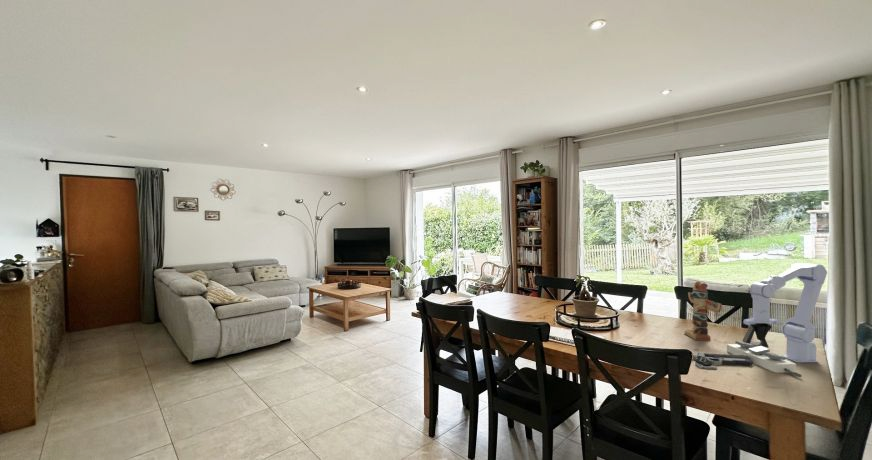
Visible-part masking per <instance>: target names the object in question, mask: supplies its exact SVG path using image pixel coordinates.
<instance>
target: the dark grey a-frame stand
mask: <svg viewBox="0 0 872 460" xmlns="http://www.w3.org/2000/svg"><path fill="white" fill-rule="evenodd" d="M754 334H755V331H754V329H753V327H752V326H751V324H749V327H748V328H747V331H746V332H745V334H744V337H743V339H742V342H745V343H749V344H751V345H754V346H755V347H758V346H763V347H765V348H769V344H768V342H767V340H766V339H765V340H764V341H761V340H759V342H758V341H752V340H753V339H752V338H753V337H754Z"/></svg>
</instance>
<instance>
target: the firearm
mask: <svg viewBox="0 0 872 460" xmlns="http://www.w3.org/2000/svg"><path fill="white" fill-rule="evenodd" d="M692 355H693V359H692V360H695V366H697V367H698V368H700V369H703V370H704V369H707V370H708V369H709V370H711V369H713V370H717V369H718V366H744V367H745V366H747V367H752V365H753V363H752V359H751V358H750V357H749V356H744V355H734V354H726V353H723V354H722V353H708V352H702V351H697V354H692Z"/></svg>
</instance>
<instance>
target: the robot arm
mask: <svg viewBox="0 0 872 460" xmlns="http://www.w3.org/2000/svg"><path fill="white" fill-rule="evenodd" d="M827 275H828V271H827V269H826V267H825V266H824V265H823V264H817V263H816V264H813V263H807V262H805V263H804V262H798V261H796V262H795V263H792V264H791V265H790V268H788V269H787V270H785V271H783V272H782V273H780V274H779V275H778V274H777V275H776V274H771V275H770V276H769V277H767V278H766V279H762V280H761V281H759V282H753V283H752V284H751V285H750V287H749V288H748V291H749V293H750V295H751V298H752V318H746V319H743V324H744V325H747V326H750V324H751V326H752V327H753V329H754V331H755V332H754V334H755V336H756V340H759V341H760V340H761V341H764V340H766V337H767V334H768V333H769V331H770V330H771V329H772V328H773V327H772V325H779V324H780V323H779V322H780V320H779V319H778V318H777V319H776V318H771V298H772V297H773V296H774V294H775V293H776V292H777V290H780V289H781V288H783V287H785V286H786V284H787V283H786V282H788V281H792V280H794V279H795V278H797V279H798V280H799V281H800V282H802V284H804V285H803V288H802V291H801V293H800V297H799V300H798V303H797V306H796V308H795V312H794V315H793V316H792V317H789V318H787V319H786V320H785V322H784V324H783V325H782V326H781V333H782V334H783V336H784V338H786V354H781V355H780V356H783V357H785V359H788V360H790V361H792V362H796V363H819V361H818V360H817V346H816V344H815V343H814V342H813V341H814V340H815V338H816V329H817V327H816V326H815V325H814V324H813V323H812V322H811V320H812V317H813V313H814V311H815V307H816V305H817V302H818V299H819V296H820V293H821V290H822V287H823V285H824V284H825V281H826V278H827Z"/></svg>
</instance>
